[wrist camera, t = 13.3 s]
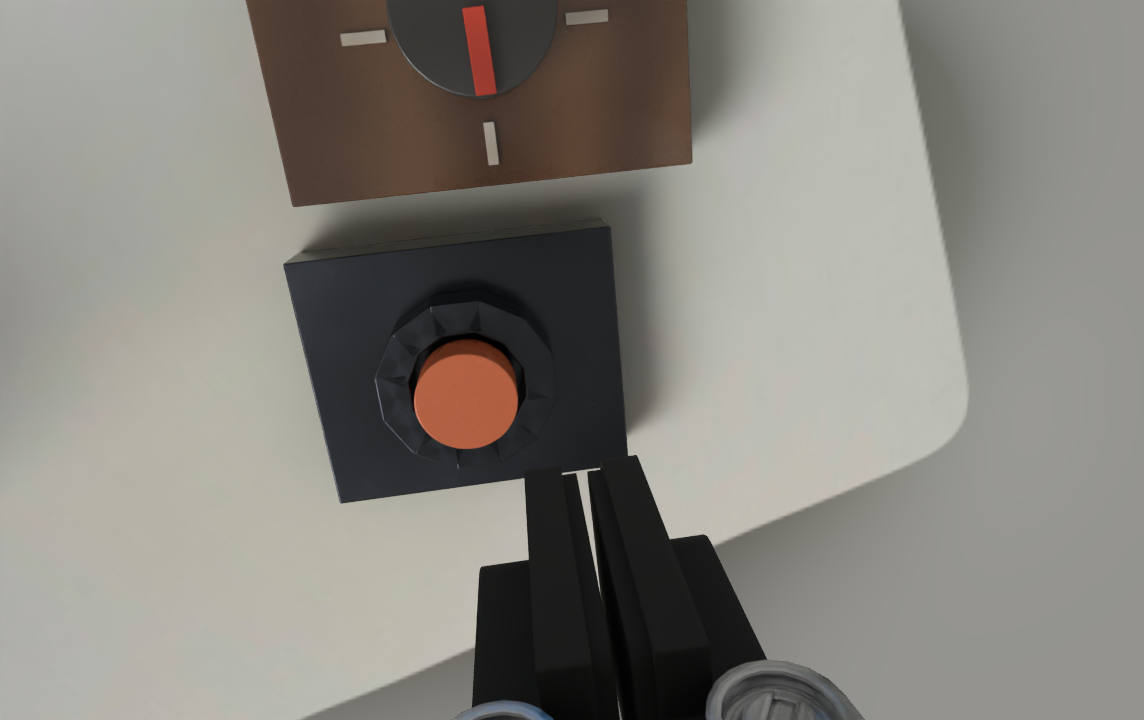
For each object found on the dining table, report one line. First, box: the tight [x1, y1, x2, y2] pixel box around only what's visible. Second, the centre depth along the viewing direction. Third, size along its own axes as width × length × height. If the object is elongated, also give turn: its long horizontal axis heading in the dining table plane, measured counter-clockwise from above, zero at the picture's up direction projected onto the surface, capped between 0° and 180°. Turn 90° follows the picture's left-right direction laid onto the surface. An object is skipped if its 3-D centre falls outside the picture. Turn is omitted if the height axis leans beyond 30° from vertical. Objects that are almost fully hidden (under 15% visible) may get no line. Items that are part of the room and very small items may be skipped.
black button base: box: [283, 218, 628, 503], centre depth 28 cm, size 12×10×4 cm
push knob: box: [414, 339, 518, 449], centre depth 25 cm, size 4×4×2 cm
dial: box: [386, 0, 558, 100], centre depth 20 cm, size 4×4×5 cm
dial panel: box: [246, 0, 692, 207], centre depth 24 cm, size 14×10×3 cm
